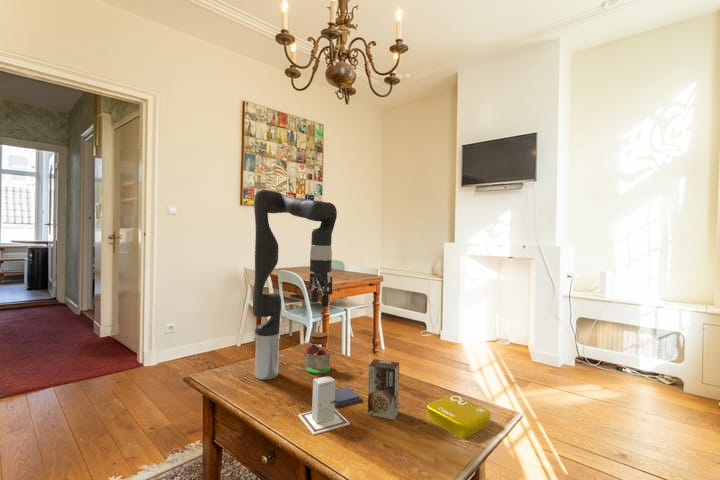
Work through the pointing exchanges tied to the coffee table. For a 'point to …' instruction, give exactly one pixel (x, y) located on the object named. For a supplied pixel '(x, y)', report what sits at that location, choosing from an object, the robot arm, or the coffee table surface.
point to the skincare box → (323, 399)
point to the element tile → (458, 415)
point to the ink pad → (345, 397)
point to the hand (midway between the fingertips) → (319, 304)
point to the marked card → (324, 426)
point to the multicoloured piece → (321, 359)
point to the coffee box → (383, 389)
